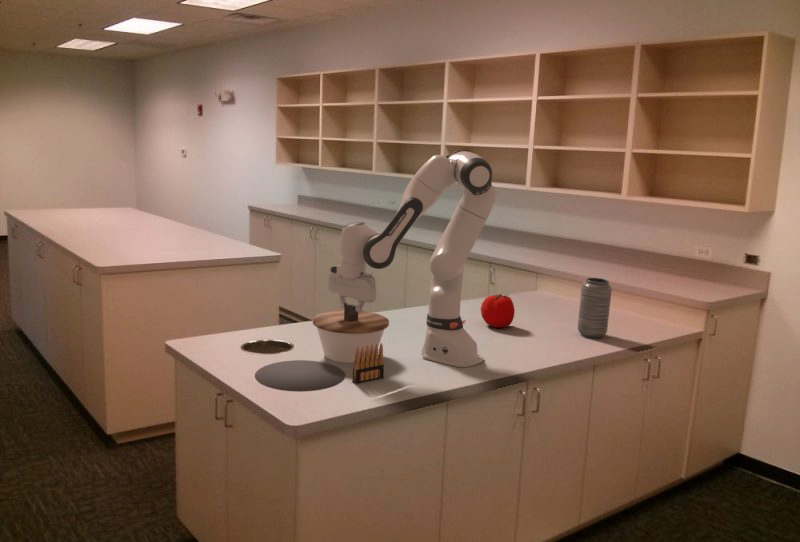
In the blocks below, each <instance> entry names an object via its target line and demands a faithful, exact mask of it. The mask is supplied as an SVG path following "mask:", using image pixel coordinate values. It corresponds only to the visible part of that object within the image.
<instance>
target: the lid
mask: <svg viewBox="0 0 800 542" xmlns="http://www.w3.org/2000/svg"><path fill="white" fill-rule="evenodd" d="M356 307H358V305H356V304H353V303H350V304H348V305H345V306H344V308H343V310H332V311H331V310H330V311H325V312H321V313H318V314H316V315H314V317H312V325H313V326H314V327H316V328H317V327H318V328H320V329H323V330H326V331H330V332H337V333H347V334H362V333H372V332H377V331H381V330H383V329H384V330H385V329H387V328H388V327H389V325H390V321H389V318H387V317H386V316H384V315H381V314H378V313H376V312H372V311H363V310H362V312H361V313H358V312H356V311H355V310H356Z"/></svg>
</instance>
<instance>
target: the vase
mask: <svg viewBox="0 0 800 542" xmlns="http://www.w3.org/2000/svg"><path fill="white" fill-rule="evenodd" d="M612 291H613V289H612V286H611V285H610V282H609V280H608V279H605V278H599V277H588V278H586V280H585V281H584V282H583V284H582V285H581V292H580V298H579V299H580V300H579V307H578V308H579V311H578V319H577V331H578V332H579V333H580V335H581V336H582V337H584V338H589V339H602V338H603V337H604V336H605V335H606V334H607V332H608V326H609V325H608V324H609V316H610V310H611V300H612Z"/></svg>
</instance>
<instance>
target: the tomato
mask: <svg viewBox="0 0 800 542" xmlns="http://www.w3.org/2000/svg"><path fill="white" fill-rule="evenodd" d="M509 295H511V294H505V295H503V294H501V293H499V294H494V295H492V294H491V295H489V296H487V297H484V300H483V301H482V303H481V305H480V315H481V317H482V320H483V322H485V323H486V324H487V325H488V326H490V327H494V328H498V329H499V328H503V329H504V328H507V327H509V326H510V325H511V324H512V323H513V320H514V317H515V312H516V311H515V310H516V309H515V305H514V302H513V300H512V298H511V297H510V296H509Z"/></svg>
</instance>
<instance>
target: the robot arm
mask: <svg viewBox="0 0 800 542" xmlns="http://www.w3.org/2000/svg"><path fill="white" fill-rule="evenodd" d="M492 180H493V170H492V167H491V165H490V164H489V162H488V161H487V160H486V159H484V158H483V157H481V156H480V155H478V154H477V153H474V152H472V151H470V150H467V149H457V150H456V151H453V152H452V153H450V154H448V155H446V156H445V155H441V154H435V155H432V156H431V157H430V158H429V159H428V160H426V162H425V163H424V164H423V165H422V166H421V167H420V168H419V169H418V170H417V172H416V173H415V174H414V176H412V178H411V179H410V181H409V183H407V186H406V187H405V190H404V192H403V195H402V198H401V202H400V205H399V207H398V209H397V212H396V213H395V215H394V216H393V217H392V219H391V220H390V222H389V223H388V224H387V226H386V227H385V228H384V230H383V231H382V232H380V231H378V230H376V229H374V228H372V227H370V226H369V225H367V224H366V223H365V222H362V221H360V222H359V221H358V222H351V223H348V224H345V226H344V227H343V228H342V230H341V235H340V247H339V249H340V253H341V256H340V259H339V263H338V264H336V265H332V266H331V265H330V266H329V268H328V271H329V275H328V287H327V288H328V290H329V293H332V294H336V295H338V299H339V302H340V304H341V305H340V308H341V309H344V306H345V305H349V303H348V302H347V300H346V298H349V299H355V300H357V303H358V305H357V306H358V307H356V310H355V311H356V312H358V313H361V312H362V311H363V307H364V305H365V304H366V303H367V304H368V303H369V304H370V303H373V302H375V301H376V300H377V287H376V286H377V285H376V279H375V277H374V276H373V275H372V274H369V273H367V266H369V267H370V268H373V269H378V270H380V269H385V268H388V267H389V266H390V265H391V264H392V263H393V261H394V259H395V255H396V249H397V248H398V245H399V244H400V242H401V241H402V240H403V238H404V237H405V235H406V234H407V232H408V231H409V230H410V229H411V228H412V226H413V224H415V222H416V221H417V220H418V219H420V218H421V217H422V215H424V214H425V213H426V212H427V211H428V210H429V209H431V208H432V207H433V205H434V204H436V203H437V201H438V200H439V199H440V197H441V196H442V195H443V193H444V192H445V191H446V189H447V188H448V187H450V186H451V185H452V184H455V183H458V184H459V185H461V186H462V187H463V193H462V197H461V198H460V200H459V202H458V204H457V206H456V208H455V210H454V212H453V214H452V216H451V218H450V220H449V222H448V223H447V226H446V229H445V230H444V232H443V233H442V236H441V237H440V239H439V241H438V243H437V245H436V247H435V249H434V251H433V253H432V255H431V257H430V260H429V270H430V271H431V280H430V287H429V297H428V313H427V314H426V332H425V333H426V334H425V339H424V344H423V345H422V349H421V354H422V358H423V359H424V360H428V361H432V362H436V363H441V364H445V365H450V366H452V367H453V366H454V367H457V368H458V367H459V368H466V367H467V368H468V367H472V366H475V365H479V364H481V363H482V362H483V361H484V360H485V359H484V358H485V357H484V356H483V355H481V354H478V345H477V341H475V340H474V338H472V336H471V335H470V334H469V333H468V332H467V331H466V329H465V328H464V324H465V323H466V320H462V317H461V314H460V313H461V301H462V300H461V299H462V288H463V279H464V269H465V268H464V267H465V263H466V261H467V259H468V257H469V255H470V253H471V252H472V250H473V248H474V245H475V243H476V242H477V240H478V238H479V236H480V233H481V231H482V230H483V228H484V226H485V224H486V222H487V220H488V218H489V216H490V214H491V212H492V209H493V207H494V204H495V202H496V197H497V190H496V188H495V187H494V186H493V185H492Z"/></svg>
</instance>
